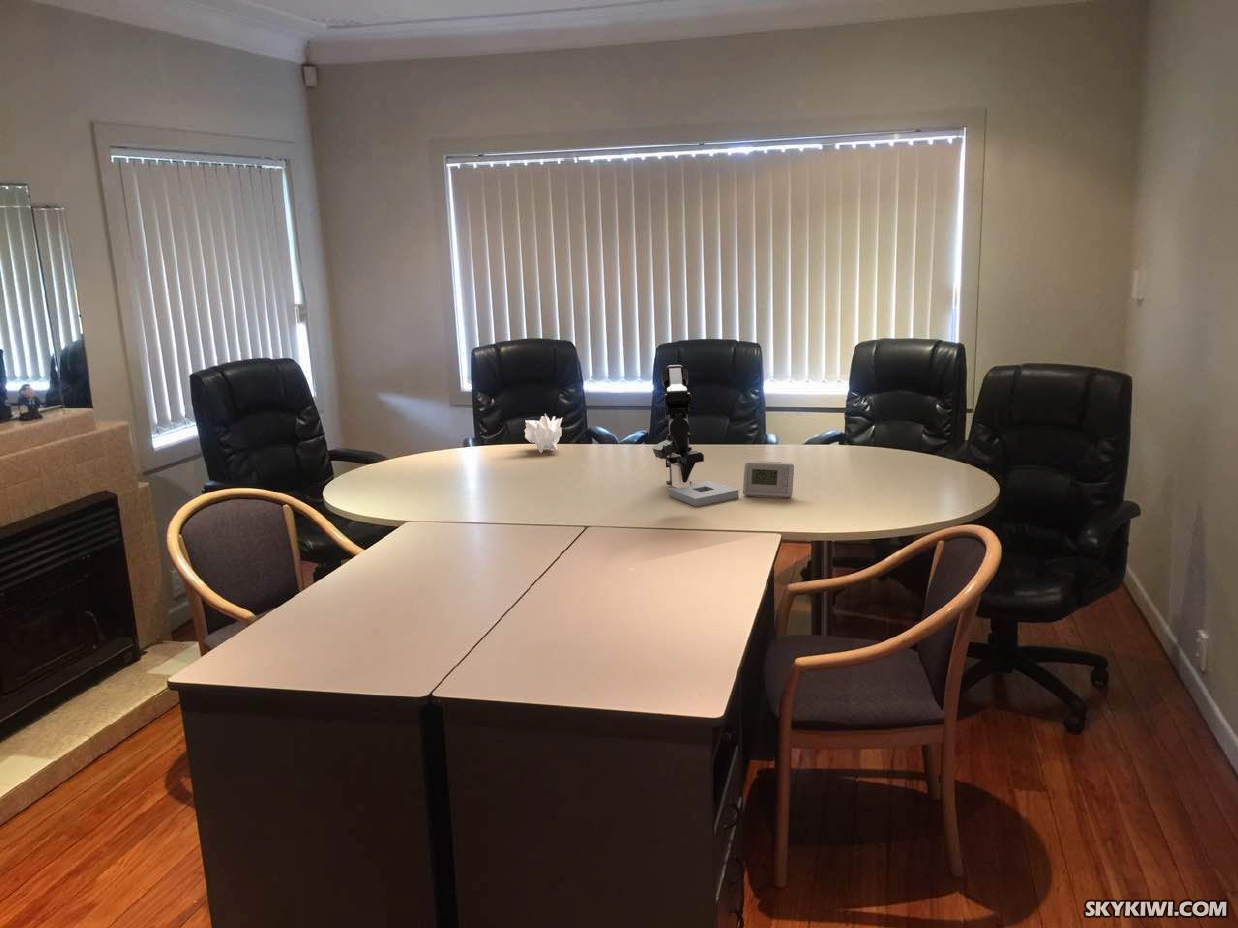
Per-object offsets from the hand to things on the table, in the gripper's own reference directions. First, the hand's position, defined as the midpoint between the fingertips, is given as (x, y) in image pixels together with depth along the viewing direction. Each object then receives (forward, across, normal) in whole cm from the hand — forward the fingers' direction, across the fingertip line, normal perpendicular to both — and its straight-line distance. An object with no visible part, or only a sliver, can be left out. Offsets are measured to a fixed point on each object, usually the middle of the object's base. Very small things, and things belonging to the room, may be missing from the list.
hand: (680, 481), depth 313 cm
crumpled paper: (+9, -107, +1) cm, 108 cm away
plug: (+2, 0, 0) cm, 2 cm away
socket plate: (+9, -8, +13) cm, 18 cm away
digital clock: (+9, +4, +30) cm, 32 cm away
